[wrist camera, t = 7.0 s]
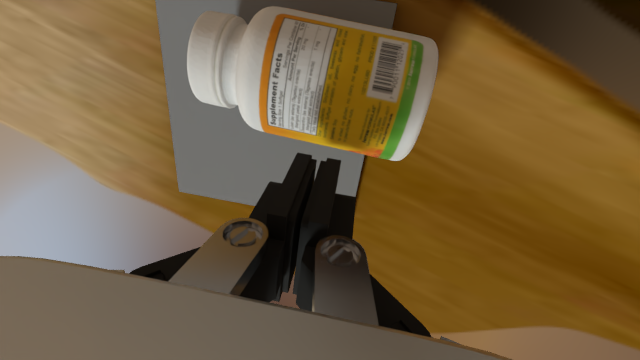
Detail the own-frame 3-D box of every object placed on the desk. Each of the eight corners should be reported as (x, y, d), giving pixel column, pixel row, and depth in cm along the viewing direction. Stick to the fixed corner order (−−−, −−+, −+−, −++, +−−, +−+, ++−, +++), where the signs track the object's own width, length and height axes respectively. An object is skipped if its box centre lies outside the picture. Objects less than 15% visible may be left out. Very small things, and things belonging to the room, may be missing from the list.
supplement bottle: (398, 125, 18) (233, 88, 18) (434, 23, 14) (228, -19, 15) (399, 187, 14) (186, 138, 14) (450, 67, 10) (164, 7, 11)
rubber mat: (396, 3, 15) (397, 3, 15) (350, 218, 22) (349, 223, 21) (158, -31, 16) (151, -32, 15) (183, 187, 22) (179, 191, 22)
